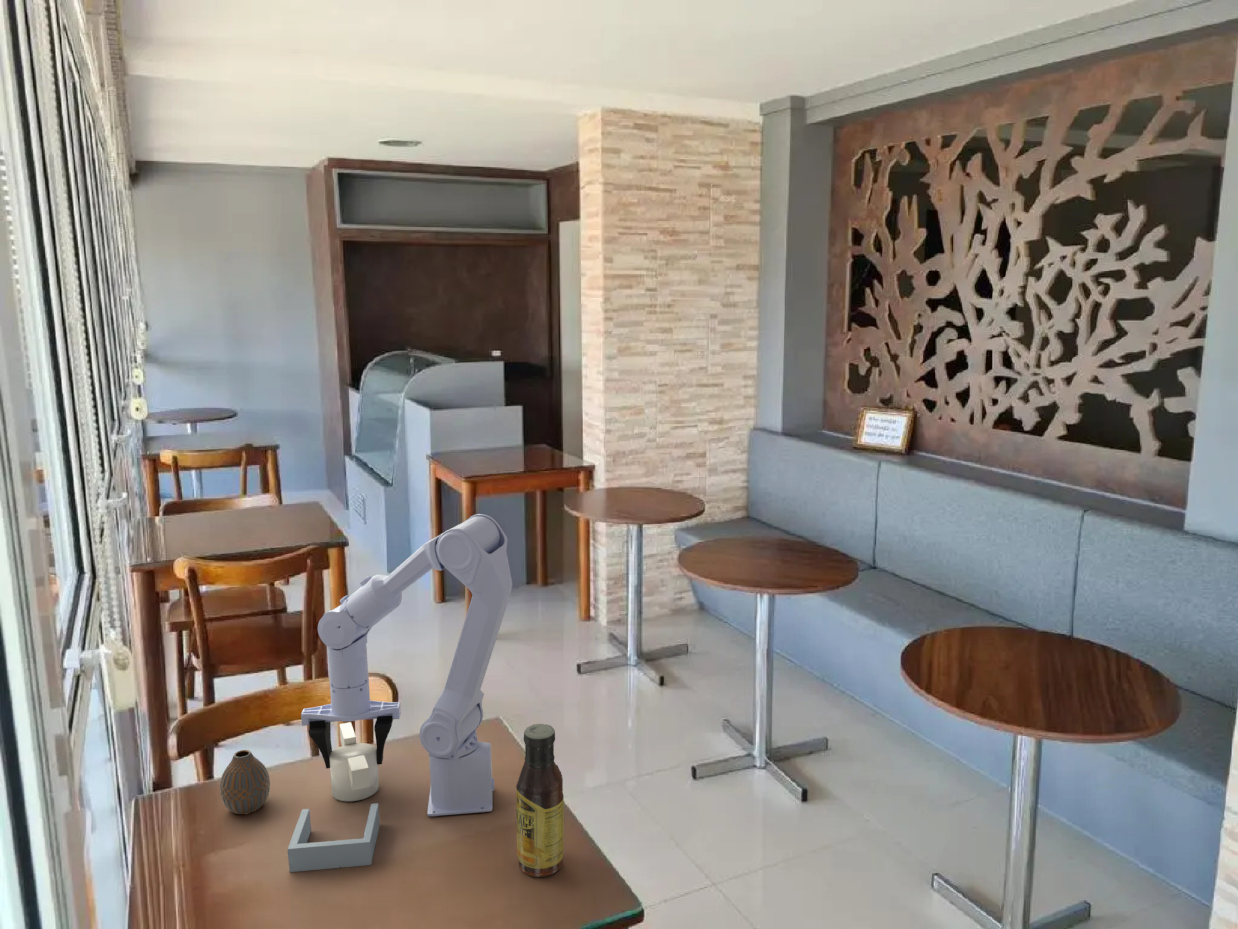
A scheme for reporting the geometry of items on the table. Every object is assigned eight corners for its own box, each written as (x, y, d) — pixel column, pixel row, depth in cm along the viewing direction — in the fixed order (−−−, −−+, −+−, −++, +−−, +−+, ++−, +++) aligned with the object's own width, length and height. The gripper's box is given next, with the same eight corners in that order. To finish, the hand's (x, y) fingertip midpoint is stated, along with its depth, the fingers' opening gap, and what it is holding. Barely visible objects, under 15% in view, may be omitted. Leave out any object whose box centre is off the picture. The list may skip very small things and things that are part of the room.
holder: (379, 824, 134) (378, 803, 133) (371, 865, 124) (369, 842, 124) (303, 831, 132) (302, 809, 132) (289, 872, 123) (287, 849, 122)
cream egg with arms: (325, 767, 150) (322, 727, 149) (369, 759, 153) (367, 719, 152) (338, 819, 134) (335, 774, 133) (386, 809, 137) (384, 764, 136)
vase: (279, 796, 142) (275, 743, 140) (258, 821, 135) (253, 766, 133) (236, 794, 142) (231, 741, 141) (213, 819, 136) (207, 764, 134)
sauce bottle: (511, 858, 125) (507, 722, 122) (555, 847, 128) (551, 713, 124) (526, 886, 120) (522, 744, 116) (571, 874, 122) (568, 735, 118)
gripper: (400, 667, 145) (405, 747, 148) (305, 673, 144) (311, 754, 146) (395, 686, 139) (400, 769, 141) (295, 692, 137) (302, 777, 139)
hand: (354, 763), depth 143 cm, fingers open, 7 cm apart
